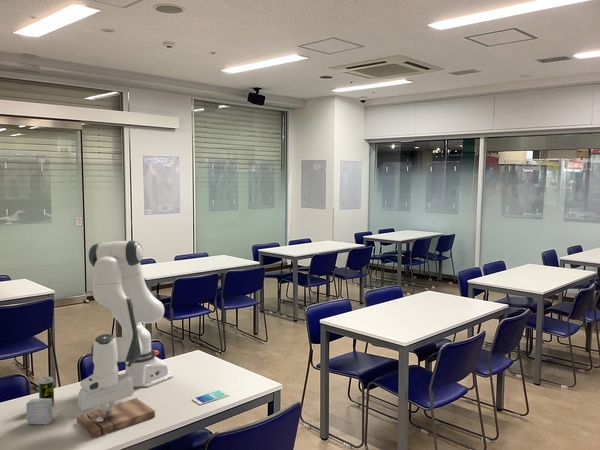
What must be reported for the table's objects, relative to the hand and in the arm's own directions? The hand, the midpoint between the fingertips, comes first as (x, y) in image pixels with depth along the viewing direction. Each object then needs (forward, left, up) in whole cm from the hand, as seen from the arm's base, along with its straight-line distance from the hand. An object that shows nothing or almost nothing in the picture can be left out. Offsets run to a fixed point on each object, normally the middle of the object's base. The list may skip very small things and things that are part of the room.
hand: (107, 413), depth 191 cm
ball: (+1, 0, -2) cm, 3 cm away
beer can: (+12, -30, -4) cm, 33 cm away
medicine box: (+18, -18, -4) cm, 26 cm away
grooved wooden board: (-4, 0, -4) cm, 5 cm away
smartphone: (-42, +8, -4) cm, 42 cm away
